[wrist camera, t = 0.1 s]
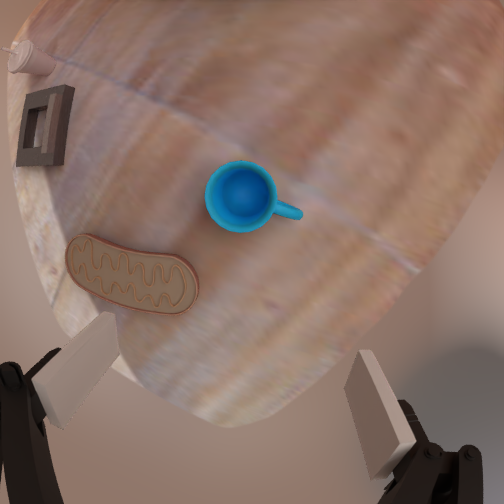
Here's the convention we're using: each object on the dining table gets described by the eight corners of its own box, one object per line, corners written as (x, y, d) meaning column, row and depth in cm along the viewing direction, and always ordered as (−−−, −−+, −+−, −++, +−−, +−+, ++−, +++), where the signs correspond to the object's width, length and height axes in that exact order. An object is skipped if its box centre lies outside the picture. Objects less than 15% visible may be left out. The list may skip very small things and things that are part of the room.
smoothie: (59, 46, 33) (14, 26, 20) (62, 68, 35) (13, 49, 21) (37, 66, 34) (-9, 51, 21) (40, 88, 36) (-10, 76, 22)
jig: (36, 96, 36) (19, 92, 31) (75, 88, 36) (58, 81, 31) (26, 166, 40) (8, 167, 35) (63, 164, 39) (45, 165, 35)
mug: (209, 211, 40) (195, 219, 32) (227, 156, 38) (218, 151, 30) (289, 239, 41) (294, 253, 33) (309, 185, 39) (319, 187, 31)
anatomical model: (209, 253, 42) (202, 263, 37) (199, 312, 45) (192, 327, 40) (82, 223, 42) (65, 229, 37) (81, 277, 45) (65, 287, 40)
